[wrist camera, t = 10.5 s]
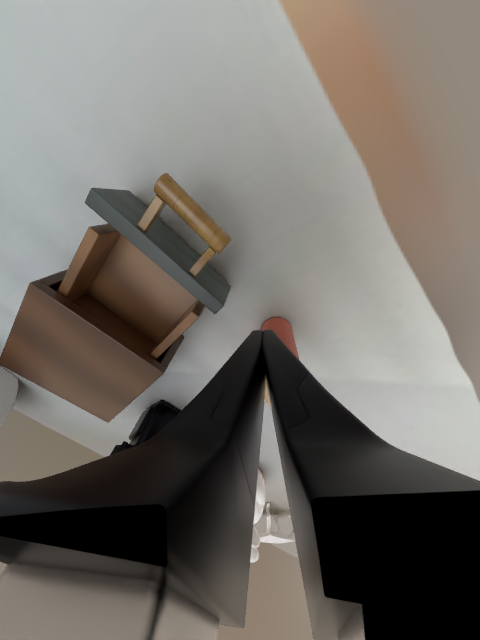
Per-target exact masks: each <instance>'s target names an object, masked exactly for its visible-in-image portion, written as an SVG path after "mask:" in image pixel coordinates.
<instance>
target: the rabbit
mask: <svg viewBox="0 0 480 640" xmlns="http://www.w3.org/2000/svg"><path fill="white" fill-rule="evenodd" d="M265 495H266V489H265V482H264V479H263V476H262V473H261V471H260V470H259V469H258V477H257V489H256V500H255V506H254V507H255V512H254V523H253V525H254V524H255V523H256V522H257V521H258V520H259V519H260V517H261V515H262V513H263V509H264V505H265ZM259 545H260V537H259V533H258V531H257V530H256V528H255V527H254V526H253V535H252V546H251V557H250V562H255V561H257V560H258V558H259V553H258V550H257V549H256V547H258V546H259Z"/></svg>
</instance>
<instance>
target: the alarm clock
mask: <svg viewBox="0 0 480 640" xmlns="http://www.w3.org/2000/svg"><path fill="white" fill-rule="evenodd" d="M18 387H19V385H18V378H17V377H15V376H14V375H12V374H11V373H9V372H8V371H7V370H5V369H4V368H2V367H1V366H0V428H1V426H2V425H3V423H4V422H5V420H6V418H7V417H8V415H9V413H10V411H11V410H12V408H13V406H14V404H15V400H16V396H17V391H18Z"/></svg>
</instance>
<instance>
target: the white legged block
mask: <svg viewBox="0 0 480 640" xmlns="http://www.w3.org/2000/svg"><path fill="white" fill-rule="evenodd" d="M269 507H270V503H267V507H266V516H267V531H266V532H262V533H259V537H260V542H267V543H277V544H279V543H285V542H292V541H295V535H294V529H293V531H292V533H291V536H288V535H283V534H280V530H279V526H278V522H277V516H278V515H277V514H276V515H275V517H274V520H275V526H276V532H277V533H274V532H270V528H271V515H270V512H269ZM290 515H291V513H289V515H288V516H289V517H290V518H291V516H290Z"/></svg>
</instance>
